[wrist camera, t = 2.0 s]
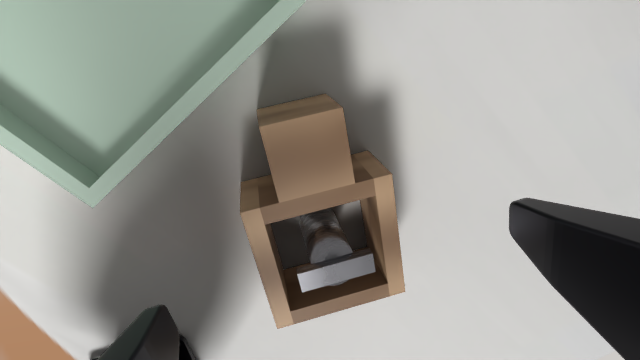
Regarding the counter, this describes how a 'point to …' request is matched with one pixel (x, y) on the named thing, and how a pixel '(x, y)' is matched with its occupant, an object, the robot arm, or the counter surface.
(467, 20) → the counter surface
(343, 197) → the wooden frame stand
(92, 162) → the tray
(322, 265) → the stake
